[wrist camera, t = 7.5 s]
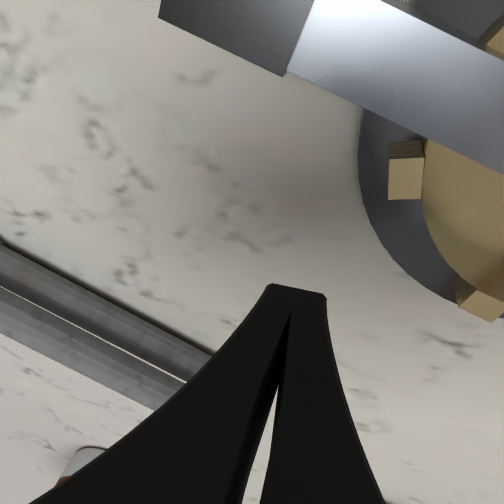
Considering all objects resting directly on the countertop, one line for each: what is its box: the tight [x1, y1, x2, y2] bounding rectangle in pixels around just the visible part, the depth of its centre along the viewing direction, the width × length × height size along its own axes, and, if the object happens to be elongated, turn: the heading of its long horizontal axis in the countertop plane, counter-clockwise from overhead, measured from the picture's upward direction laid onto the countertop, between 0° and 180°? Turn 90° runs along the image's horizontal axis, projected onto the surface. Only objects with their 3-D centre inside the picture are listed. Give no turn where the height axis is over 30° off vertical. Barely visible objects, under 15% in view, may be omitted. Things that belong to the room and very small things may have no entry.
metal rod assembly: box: [0, 240, 212, 411], centre depth 23 cm, size 26×3×5 cm, turn 63°
